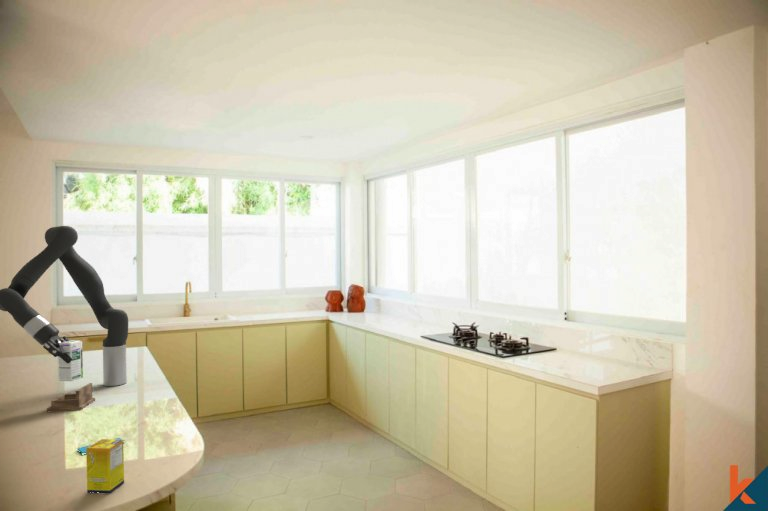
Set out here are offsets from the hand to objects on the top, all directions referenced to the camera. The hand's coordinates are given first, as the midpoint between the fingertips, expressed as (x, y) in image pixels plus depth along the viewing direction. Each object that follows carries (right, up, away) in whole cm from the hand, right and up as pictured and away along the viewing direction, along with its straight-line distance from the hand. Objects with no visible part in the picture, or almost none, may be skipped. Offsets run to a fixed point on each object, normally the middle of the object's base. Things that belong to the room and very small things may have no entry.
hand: (75, 359), depth 194 cm
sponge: (+34, -18, -43) cm, 58 cm away
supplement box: (+50, -17, -70) cm, 88 cm away
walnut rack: (-1, -18, 0) cm, 18 cm away
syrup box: (-1, -8, 0) cm, 8 cm away
